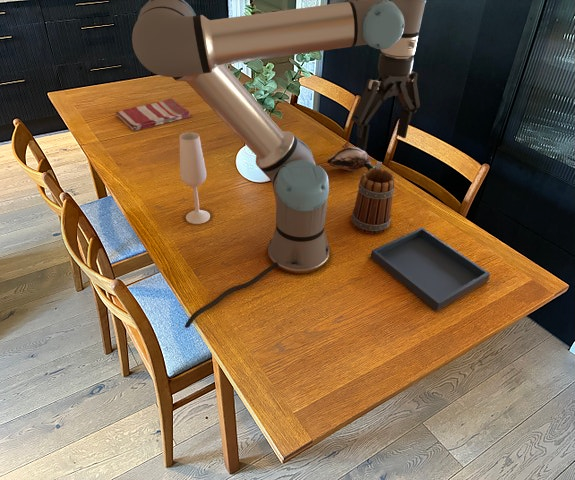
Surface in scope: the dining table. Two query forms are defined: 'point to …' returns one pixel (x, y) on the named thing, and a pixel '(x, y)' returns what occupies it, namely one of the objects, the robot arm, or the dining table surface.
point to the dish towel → (153, 114)
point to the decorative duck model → (350, 159)
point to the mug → (374, 200)
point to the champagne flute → (193, 172)
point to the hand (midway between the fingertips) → (381, 142)
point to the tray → (430, 267)
